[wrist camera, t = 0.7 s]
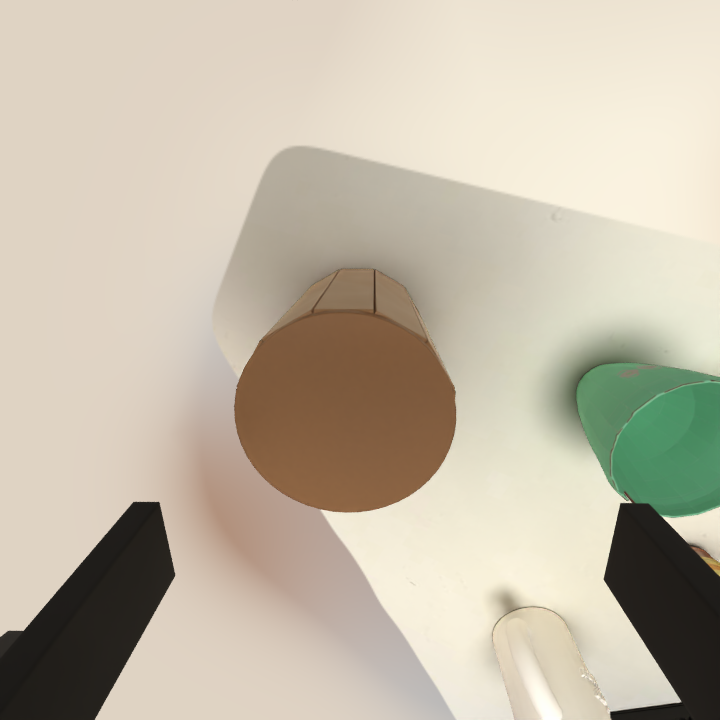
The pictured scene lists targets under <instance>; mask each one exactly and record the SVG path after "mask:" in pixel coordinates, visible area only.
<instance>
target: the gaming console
mask: <svg viewBox="0 0 720 720" xmlns="http://www.w3.org/2000/svg"><path fill="white" fill-rule="evenodd" d="M610 718H611V720H693V719H692V717H691V715H690V714H689V712H688V711H687V709H686V708H685V706H684V704H683V703H682V704H674V705H667V706H659V707H652V708H644V709H636V710H629V711H621V712H614V713H610Z"/></svg>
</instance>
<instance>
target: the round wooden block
mask: <svg viewBox="0 0 720 720" xmlns="http://www.w3.org/2000/svg"><path fill="white" fill-rule="evenodd" d="M455 393H456V392H455V387H454V385H453V383H452V381H451V379H450V377H449V375H448V373H447V371H446V369H445V366H444V364H443V362H442V360H441V358H440V356H439V354H438V352H437V350H436V348H435V346H434V343H433V341H432V339H431V337H430V335H429V333H428V331H427V329H426V327H425V325H424V323H423V320H422V318H421V316H420V314H419V312H418V311H417V309H416V307H415V305H414V303H413V301H412V300H411V298H410V296H409V294H408V292H407V290H406V289H405V287H404V286H403V285H401V284H399V283H398V282H396V281H394V280H393V279H391V278H389V277H388V276H386V275H384V274H383V273H381V272H379V271H377V270H376V269H375V271H374V269H341V270H337V271H336V272H334V273H332V274H331V275H329V276H327V277H326V278H324V279H322V280H320V281H319V282H317V283H315V284H314V285H312V286H311V287H310V288H309V289H308V290H307V291H306V292H305V293H304V295H303V296H302V297H301V298H300V299H299V300H298V301H297V302H296V303H295V304H294V305H293V306H292V307H291V308H290V309H289V310H288V311H287V313H286V314H285V315H284V316H283V317H282V318H281V319H280V320H279V321H278V322H277V323H276V324H275V325H274V326H273V327H272V328H271V329H270V331H269V332H268V333H267V334H266V335H265V336H264V337H263V338H262V339H261V340H260V341H259V343H258V345H257V347H256V349H255V351H254V353H253V355H252V356H251V358H250V359H249V361H248V363H247V364H246V366H245V368H244V370H243V372H242V375H241V377H240V379H239V382H238V385H237V389H236V396H235V405H234V407H235V409H234V410H235V423H236V428H237V433H238V436H239V439H240V442H241V445H242V447H243V449H244V451H245V453H246V455H247V457H248V459H249V460H250V462H251V463H252V465H253V466H254V468H256V470H257V471H258V472H259V473H260V474H261V476H262V477H263V478H264V479H265V480H266V481H268V482H269V483H270V484H271V485H272V486H273V487H275V488H276V489H277V490H279V491H280V492H281V493H283V494H285V495H286V496H288V497H290V498H292V499H294V500H296V501H298V502H300V503H303V504H305V505H308V506H311V507H315V508H318V509H322V510H327V511H333V512H363V511H370V510H375V509H379V508H382V507H386V506H388V505H391V504H394V503H396V502H398V501H400V500H402V499H404V498H406V497H408V496H410V495H411V494H412V493H414V492H415V491H417V490H418V489H420V488H421V487H422V486H423V485H424V484H425V483H426V482H427V481H429V480H430V478H431V477H432V476H433V475H434V474H435V473H436V471H437V470H438V469H439V467H440V466H441V464H442V463H443V461H444V459H445V457H446V455H447V453H448V451H449V449H450V446H451V443H452V440H453V437H454V432H455V425H456V405H455Z"/></svg>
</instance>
